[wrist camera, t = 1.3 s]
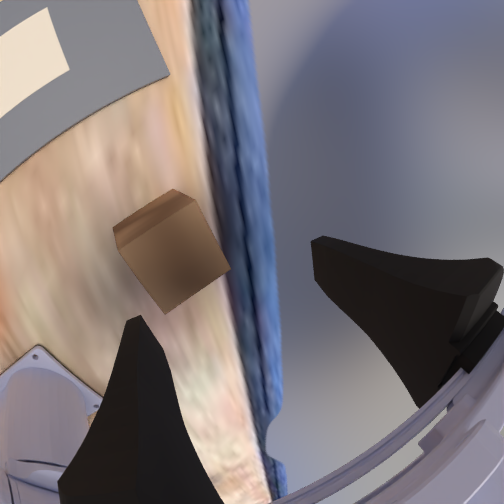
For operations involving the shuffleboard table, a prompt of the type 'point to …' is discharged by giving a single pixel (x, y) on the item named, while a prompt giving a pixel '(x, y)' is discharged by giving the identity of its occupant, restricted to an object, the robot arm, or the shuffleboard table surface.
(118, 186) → the shuffleboard table surface
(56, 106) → the board
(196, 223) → the walnut block
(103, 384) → the shuffleboard table surface
